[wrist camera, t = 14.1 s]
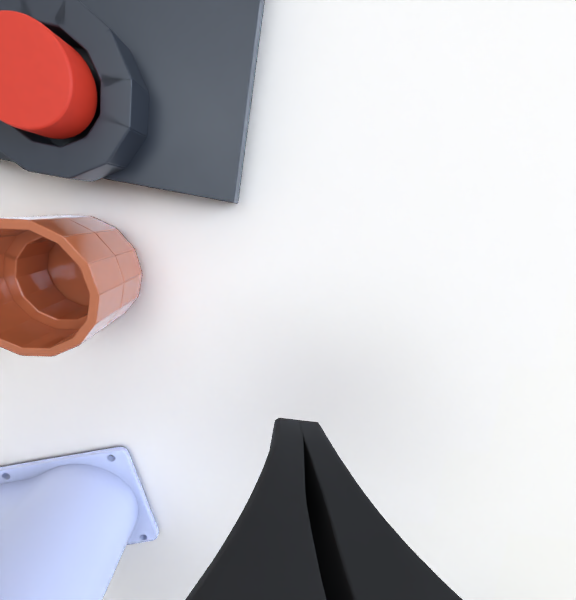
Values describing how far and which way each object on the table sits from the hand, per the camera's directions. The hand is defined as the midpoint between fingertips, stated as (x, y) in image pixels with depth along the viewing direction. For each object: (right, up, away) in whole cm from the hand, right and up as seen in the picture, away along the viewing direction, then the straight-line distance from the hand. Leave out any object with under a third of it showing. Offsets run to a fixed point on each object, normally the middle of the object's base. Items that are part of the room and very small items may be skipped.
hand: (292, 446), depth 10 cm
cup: (-11, +6, +8) cm, 15 cm away
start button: (-10, +13, +3) cm, 16 cm away
